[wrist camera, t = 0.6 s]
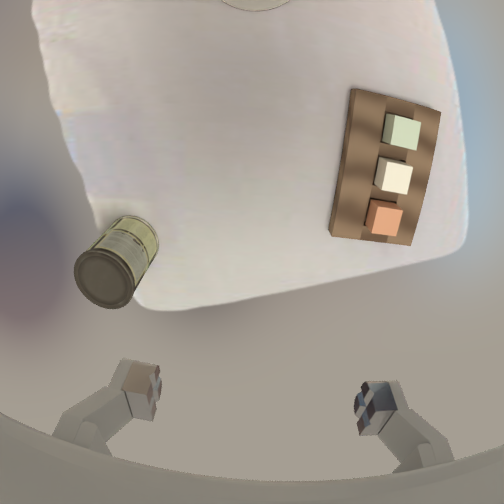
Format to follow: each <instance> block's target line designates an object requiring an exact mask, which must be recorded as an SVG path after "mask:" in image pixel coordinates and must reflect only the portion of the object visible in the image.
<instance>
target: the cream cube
mask: <svg viewBox="0 0 504 504" xmlns="http://www.w3.org/2000/svg"><path fill="white" fill-rule="evenodd" d="M412 170H413V167H412V166H410V165H408V164H406V163H405V162H401V161H397V160H392V159H387V158H382V157H379V161H378V166H377V172H376V177H375V182H374V184H375V185H376V186H377V187H379V188H380V189H381V190H384V191H390V192H395V193H401V194H406V195H407V192H408V188H409V183H410V179H411V174H412Z"/></svg>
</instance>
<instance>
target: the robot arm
mask: <svg viewBox="0 0 504 504" xmlns="http://www.w3.org/2000/svg"><path fill="white" fill-rule="evenodd" d="M222 1H223V2H225V3H227V4H228V5H230V6H233V7H235V8H239V9H243V10H249V11H262V10H268V9H272V8H276V7H278V6H281V5H283V4H284V3H286V2H288V1H289V0H222ZM159 373H160V368H159V366H158V365H155V364H150V363H145V362H140V361H136V360H131V359H126V358H122V360H120V363H119V364H118V366H117V369H116V371H115V373H114V375H113V377H112V380H111V382H110V384H109V386H108V387H103V388H102V389H100V390H99V391H97V392H95V393H94V394H92V395H91V396H89V397H87V398H86V399H84V400H83V401H81V402H79V403H78V404H76V405H74V406H73V407H71V408H69V409H68V410H66V411H65V412H63V414H62V416H61V418H60V420H59V422H58V424H57V426H56V428H55V430H54V432H53V434H52V436H50V435H48V434H46V433H43V432H41V431H38V430H36V429H34V428H32V427H29V426H27V425H25V424H23V423H21V422H19V421H17V420H14V419H12V418H10V417H8V416H6V415H4V414H2V413H1V412H0V504H504V445H502V446H499V447H496V448H493V449H491V450H488V451H484V452H481V453H478V454H475V455H472V456H469V457H465V458H461V459H458V460H454V457H453V454H452V451H451V448H450V446H449V443H448V440H447V438H446V437H445V436H443V435H442V434H441V433H440V432H439V431H437V430H436V429H435V428H434V427H433V426H431V425H430V424H429V423H428V422H427V421H426V420H424V419H423V418H422V417H421V416H419V415H418V414H417V413H416V412H415V411H414V410H412V409H409V407H408V405H407V402H406V399H405V396H404V394H403V391H402V388H401V386H400V383H399V382H398V381H397V380H396V381H366V382H364V383H363V384H362V386H361V390H362V391H361V392H360V393H358V394H357V396H356V398H355V402H354V412H355V415H356V416H357V417H358V418H359V421H358V422H357V426H358V431H359V435H360V436H367V435H378V437H379V438H380V439H381V441H382V442H383V443H384V444H385V445H386V446H387V448H388V449H389V450H390V451H391V452H392V453H393V455H394V456H395V457H396V458H397V459H398V460H399V462H400V463H401V464H400V465H399V466H398V467H397V468H396V469H395V470H394V471H393V472H392V473H393V474H387V475H380V476H372V477H364V478H353V479H342V480H326V481H259V480H243V479H232V478H222V477H213V476H205V475H197V474H191V473H184V472H179V471H173V470H168V469H163V468H158V467H153V466H148V465H144V464H140V463H135V462H131V461H127V460H124V459H120V458H116V457H113V456H112V454H111V452H110V450H109V449H108V447H107V445H106V443H105V442H107V441H108V440H109V439H110V438H111V437H112V436H114V435H115V434H116V433H117V432H118V431H119V430H121V429H122V428H123V427H124V426H125V425H126V424H127V423H129V422H130V421H131V420H132V419H133V418H137V419H143V420H147V421H153V419H154V416H155V412H156V402H157V401H158V400H159V399H160V395H161V388H162V381H161V378H160V377H159Z"/></svg>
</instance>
